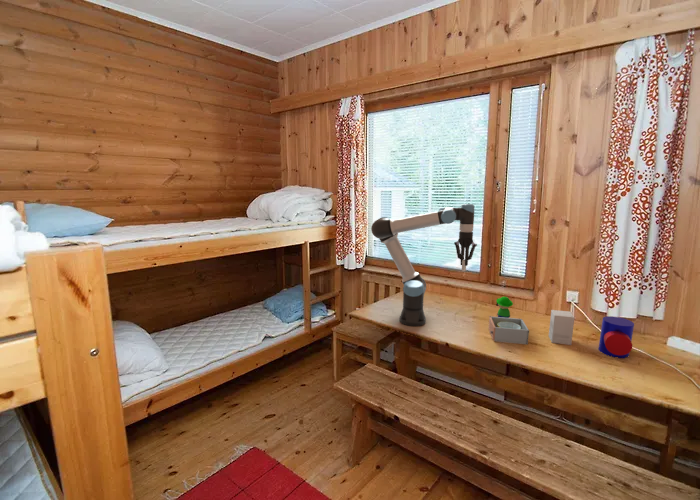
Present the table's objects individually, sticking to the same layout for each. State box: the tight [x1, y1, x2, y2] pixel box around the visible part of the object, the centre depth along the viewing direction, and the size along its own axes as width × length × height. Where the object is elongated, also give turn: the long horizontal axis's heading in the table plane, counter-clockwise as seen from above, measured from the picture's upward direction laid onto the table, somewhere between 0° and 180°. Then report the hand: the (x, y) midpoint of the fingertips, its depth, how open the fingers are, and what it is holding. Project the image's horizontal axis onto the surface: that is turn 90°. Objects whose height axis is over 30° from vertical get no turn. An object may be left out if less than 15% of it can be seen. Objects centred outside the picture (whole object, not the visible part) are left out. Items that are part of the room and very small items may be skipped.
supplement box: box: [548, 309, 575, 346], centre depth 184 cm, size 9×9×15 cm
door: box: [488, 315, 495, 342], centre depth 192 cm, size 2×16×7 cm, turn 167°
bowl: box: [497, 322, 521, 329], centre depth 189 cm, size 11×12×6 cm
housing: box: [490, 315, 530, 345], centre depth 189 cm, size 16×16×8 cm
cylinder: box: [598, 315, 635, 359], centre depth 171 cm, size 20×12×16 cm, turn 149°
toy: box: [495, 296, 514, 318], centre depth 209 cm, size 9×9×15 cm
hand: (463, 270), depth 209 cm, fingers closed
